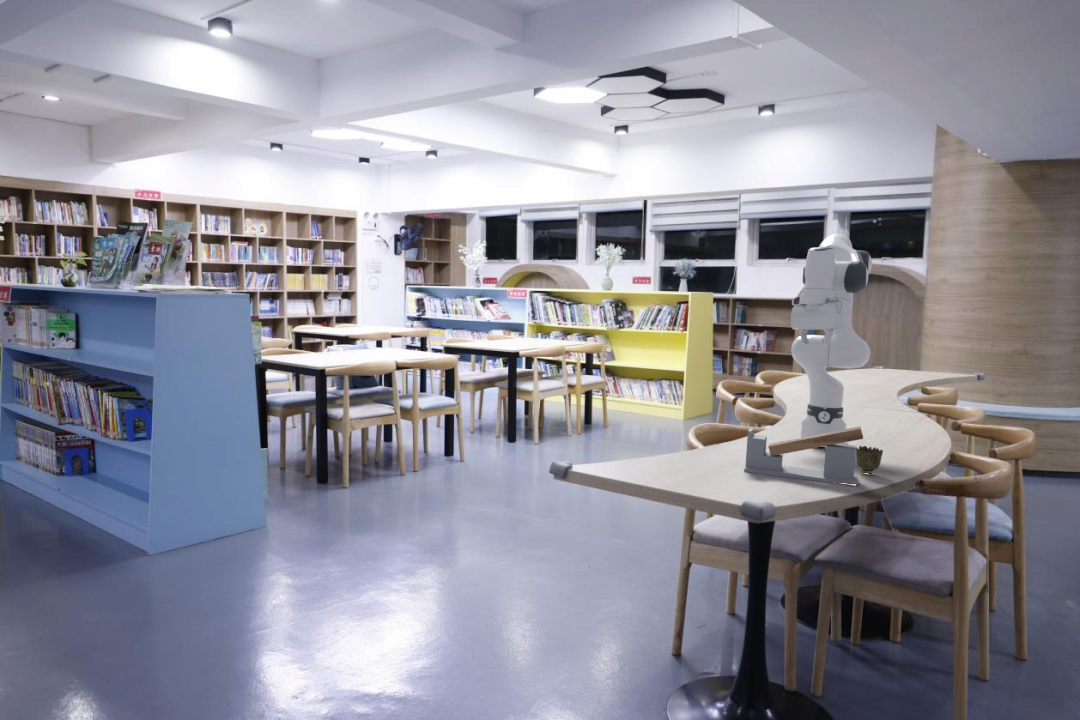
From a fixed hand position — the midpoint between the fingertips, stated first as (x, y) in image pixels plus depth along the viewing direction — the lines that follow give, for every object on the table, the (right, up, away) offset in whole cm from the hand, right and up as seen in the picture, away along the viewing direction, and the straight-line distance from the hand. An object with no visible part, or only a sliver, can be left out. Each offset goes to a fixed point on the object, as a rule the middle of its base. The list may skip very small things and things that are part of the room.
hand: (814, 344), depth 226 cm
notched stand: (-7, -39, -6) cm, 40 cm away
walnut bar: (-4, -34, -8) cm, 35 cm away
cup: (+15, -40, -2) cm, 42 cm away
